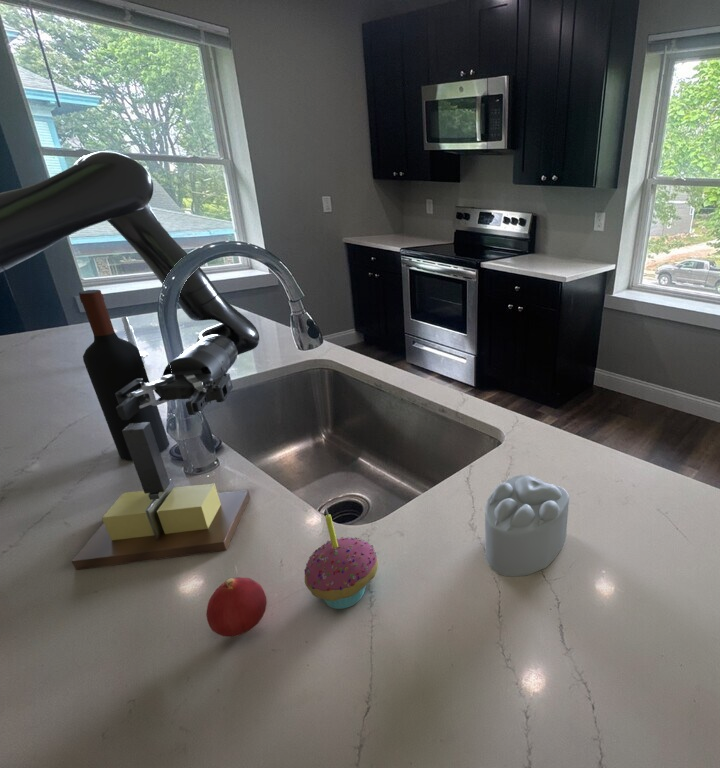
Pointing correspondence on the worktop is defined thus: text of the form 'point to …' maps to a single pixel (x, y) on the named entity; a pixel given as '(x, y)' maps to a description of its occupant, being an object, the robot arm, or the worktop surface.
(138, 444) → the knife
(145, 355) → the screw
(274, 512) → the worktop surface
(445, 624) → the worktop surface
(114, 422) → the wine bottle
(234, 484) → the worktop surface
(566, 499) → the lumpy-topped squat cylinder
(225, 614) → the onion
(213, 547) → the butter board
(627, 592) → the worktop surface
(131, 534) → the butter
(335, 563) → the cupcake
